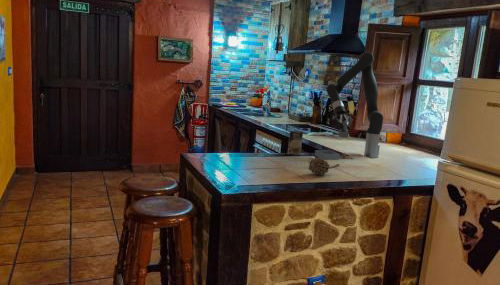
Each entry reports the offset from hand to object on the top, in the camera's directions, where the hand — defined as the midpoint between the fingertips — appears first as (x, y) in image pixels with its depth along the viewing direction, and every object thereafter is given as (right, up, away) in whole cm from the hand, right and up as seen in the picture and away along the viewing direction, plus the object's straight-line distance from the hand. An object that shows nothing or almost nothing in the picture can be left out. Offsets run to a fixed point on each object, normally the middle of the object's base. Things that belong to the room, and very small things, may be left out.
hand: (345, 128), depth 279 cm
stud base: (0, -21, +6) cm, 22 cm away
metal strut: (-1, -6, +3) cm, 6 cm away
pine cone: (-22, -28, -40) cm, 54 cm away
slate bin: (-12, -21, +2) cm, 24 cm away
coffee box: (-33, -18, +12) cm, 40 cm away
